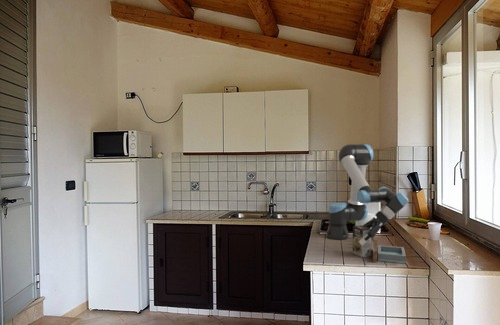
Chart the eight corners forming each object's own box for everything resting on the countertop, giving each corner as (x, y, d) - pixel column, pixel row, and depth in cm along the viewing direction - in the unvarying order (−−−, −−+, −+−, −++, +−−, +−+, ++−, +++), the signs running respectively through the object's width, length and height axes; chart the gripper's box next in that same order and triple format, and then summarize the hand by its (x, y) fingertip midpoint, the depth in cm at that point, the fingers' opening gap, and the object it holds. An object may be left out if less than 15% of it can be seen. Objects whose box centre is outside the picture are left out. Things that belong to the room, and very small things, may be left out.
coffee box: (352, 253, 206) (352, 225, 206) (361, 251, 209) (361, 225, 208) (362, 257, 198) (362, 229, 197) (371, 256, 200) (371, 228, 199)
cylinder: (362, 227, 270) (362, 191, 269) (384, 231, 257) (384, 193, 256) (351, 231, 258) (351, 193, 257) (373, 235, 245) (373, 195, 244)
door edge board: (372, 262, 190) (372, 251, 190) (373, 249, 212) (374, 240, 212) (376, 262, 189) (376, 251, 189) (377, 250, 211) (377, 240, 211)
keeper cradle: (377, 260, 192) (377, 253, 192) (378, 251, 208) (378, 245, 208) (405, 263, 187) (405, 256, 187) (403, 254, 203) (404, 247, 203)
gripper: (396, 224, 188) (367, 251, 191) (383, 215, 213) (358, 239, 215) (386, 214, 189) (357, 241, 191) (374, 206, 213) (349, 230, 216)
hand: (357, 240), depth 203 cm, fingers open, 13 cm apart
